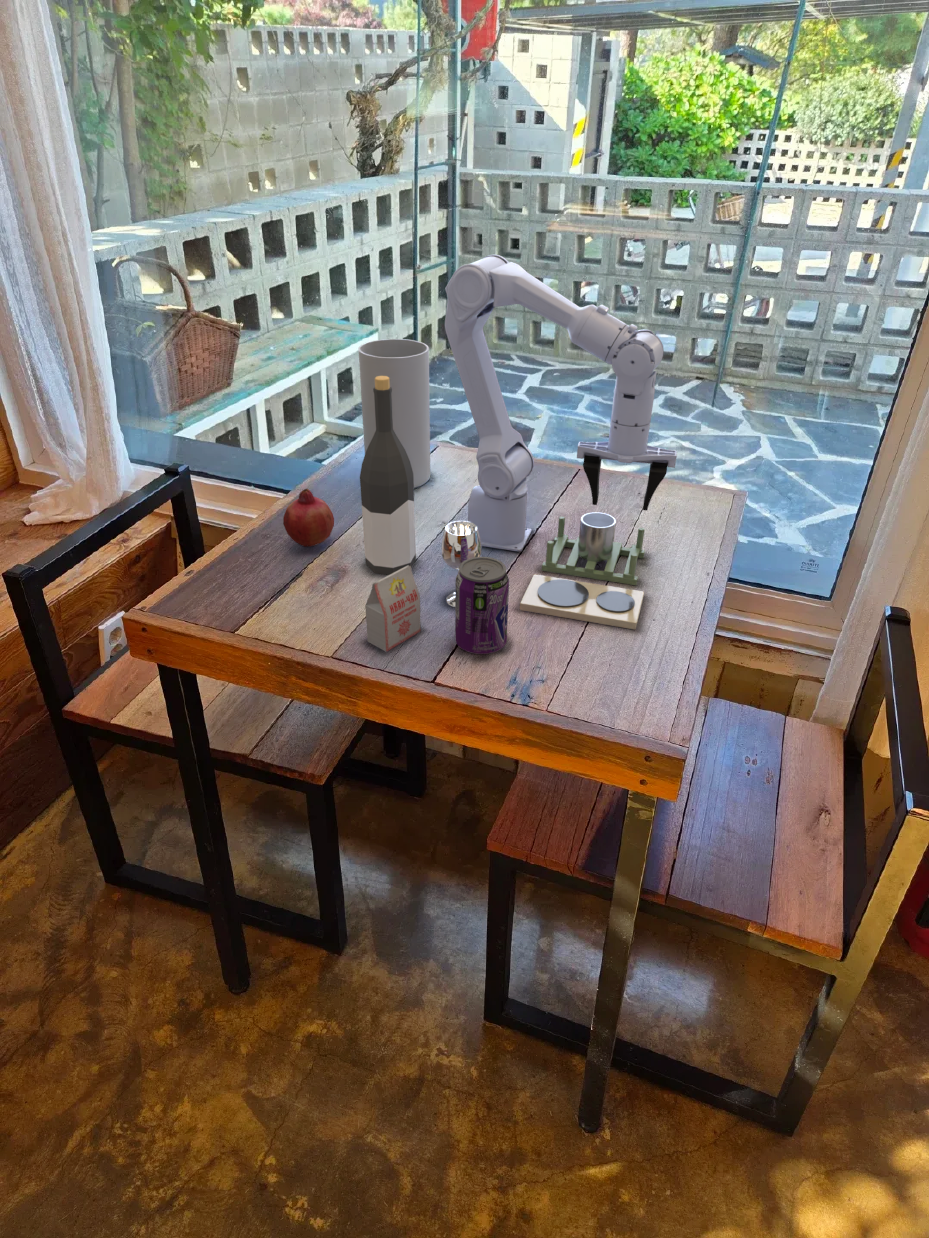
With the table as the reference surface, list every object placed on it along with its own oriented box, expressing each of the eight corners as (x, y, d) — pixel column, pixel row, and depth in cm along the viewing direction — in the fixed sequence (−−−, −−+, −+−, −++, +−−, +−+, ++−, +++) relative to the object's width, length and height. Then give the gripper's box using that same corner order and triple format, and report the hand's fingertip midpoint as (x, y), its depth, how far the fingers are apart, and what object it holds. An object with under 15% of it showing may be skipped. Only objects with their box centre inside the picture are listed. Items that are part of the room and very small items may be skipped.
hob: (519, 610, 121) (519, 601, 120) (533, 580, 128) (534, 572, 127) (635, 630, 117) (637, 621, 116) (643, 598, 124) (644, 589, 123)
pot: (574, 558, 130) (577, 524, 127) (580, 543, 135) (584, 510, 132) (609, 564, 129) (613, 529, 126) (614, 548, 134) (618, 514, 130)
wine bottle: (387, 547, 137) (378, 366, 120) (426, 561, 133) (422, 376, 116) (355, 566, 131) (341, 379, 115) (394, 581, 127) (385, 390, 111)
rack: (541, 570, 131) (543, 542, 128) (554, 542, 139) (556, 515, 136) (636, 585, 127) (640, 557, 124) (644, 555, 135) (648, 528, 132)
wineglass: (452, 614, 120) (452, 540, 113) (435, 595, 124) (434, 524, 118) (487, 604, 122) (489, 532, 115) (469, 586, 126) (470, 516, 120)
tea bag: (367, 641, 114) (363, 579, 108) (402, 621, 118) (399, 560, 113) (386, 651, 112) (382, 588, 106) (420, 631, 116) (419, 569, 111)
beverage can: (489, 664, 110) (492, 587, 103) (445, 648, 113) (444, 572, 106) (515, 639, 115) (519, 564, 108) (472, 623, 118) (473, 549, 111)
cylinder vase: (441, 472, 163) (440, 344, 149) (412, 496, 153) (408, 361, 140) (385, 461, 167) (380, 336, 154) (354, 484, 158) (345, 352, 144)
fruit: (343, 548, 136) (339, 493, 131) (297, 560, 133) (291, 504, 127) (324, 529, 142) (318, 475, 136) (279, 540, 138) (272, 485, 133)
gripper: (577, 424, 118) (570, 510, 125) (681, 434, 115) (667, 521, 123) (583, 408, 124) (575, 492, 131) (681, 417, 121) (668, 501, 128)
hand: (620, 505), depth 127 cm, fingers open, 7 cm apart
